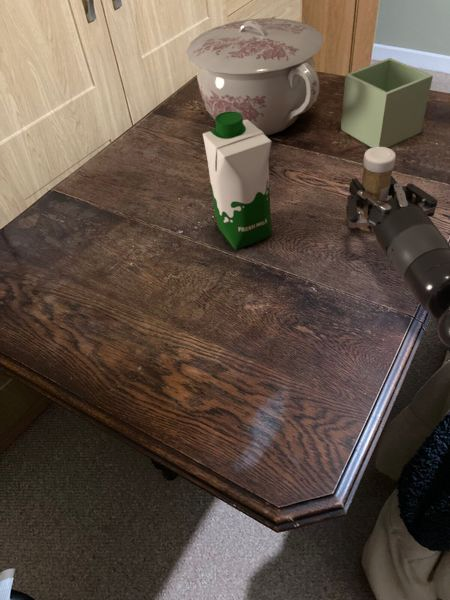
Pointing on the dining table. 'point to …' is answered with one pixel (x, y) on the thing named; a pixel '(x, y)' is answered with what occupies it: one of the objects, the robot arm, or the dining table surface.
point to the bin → (385, 102)
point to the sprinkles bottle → (377, 173)
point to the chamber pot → (258, 70)
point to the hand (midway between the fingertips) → (368, 180)
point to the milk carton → (239, 179)
